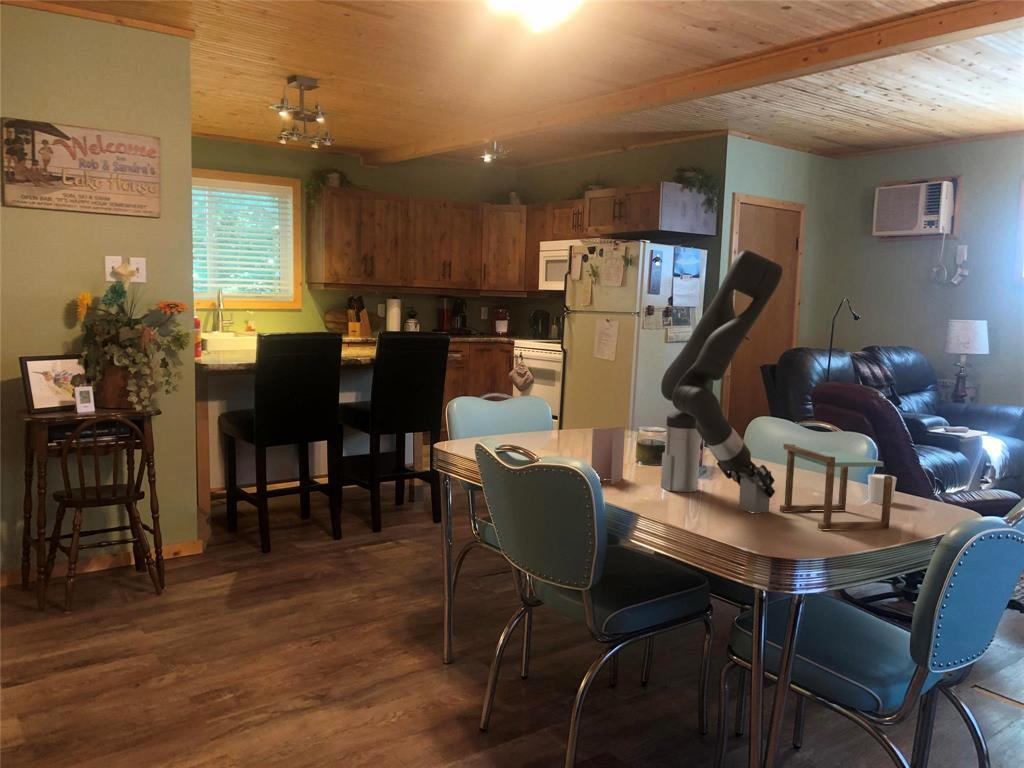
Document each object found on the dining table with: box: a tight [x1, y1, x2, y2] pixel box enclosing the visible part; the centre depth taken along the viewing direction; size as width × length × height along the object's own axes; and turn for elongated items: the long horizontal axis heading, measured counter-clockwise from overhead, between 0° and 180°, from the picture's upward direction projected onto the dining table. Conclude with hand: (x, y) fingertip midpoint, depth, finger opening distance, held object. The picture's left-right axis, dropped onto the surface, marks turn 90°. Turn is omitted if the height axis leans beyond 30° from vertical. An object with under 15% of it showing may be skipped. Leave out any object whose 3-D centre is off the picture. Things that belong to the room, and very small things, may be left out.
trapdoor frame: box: [779, 443, 893, 531], centre depth 182 cm, size 17×18×17 cm
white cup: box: [867, 473, 898, 505], centre depth 202 cm, size 7×7×7 cm
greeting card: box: [590, 426, 626, 486], centre depth 218 cm, size 11×7×15 cm, turn 121°
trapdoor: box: [794, 451, 885, 468], centre depth 181 cm, size 14×14×1 cm
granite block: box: [738, 470, 772, 514], centre depth 189 cm, size 5×5×10 cm
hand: (759, 491), depth 190 cm, fingers open, 7 cm apart
